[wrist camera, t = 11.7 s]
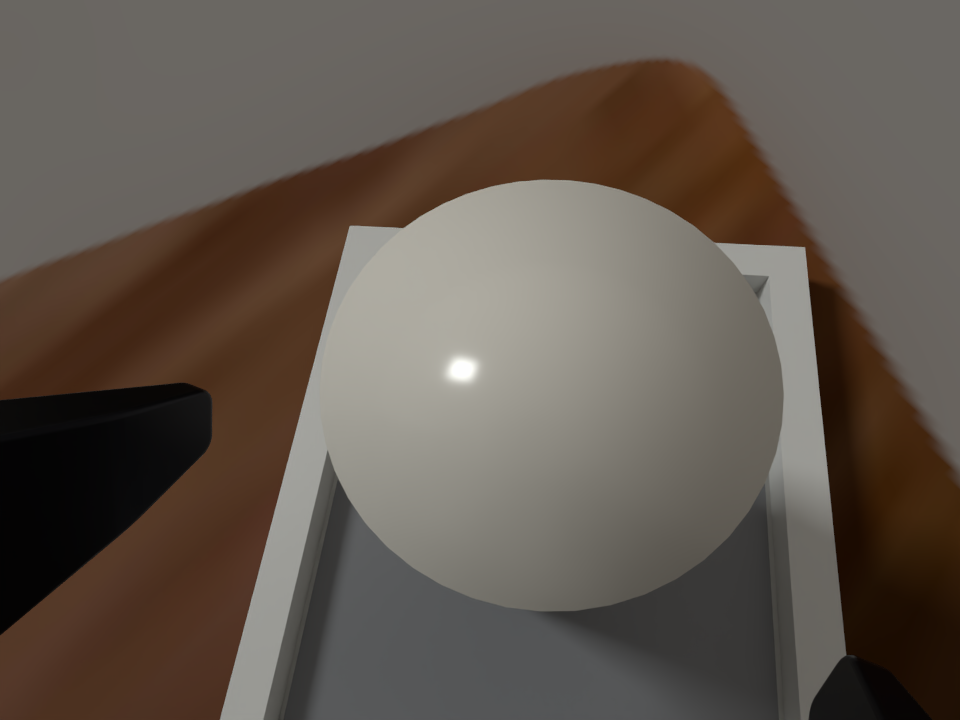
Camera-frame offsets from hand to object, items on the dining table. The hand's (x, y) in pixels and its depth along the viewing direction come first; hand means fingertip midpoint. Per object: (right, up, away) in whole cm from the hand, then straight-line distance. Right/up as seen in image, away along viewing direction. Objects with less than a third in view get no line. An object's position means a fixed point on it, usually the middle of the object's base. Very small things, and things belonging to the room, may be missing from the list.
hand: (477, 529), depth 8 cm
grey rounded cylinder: (+2, -2, +10) cm, 10 cm away
